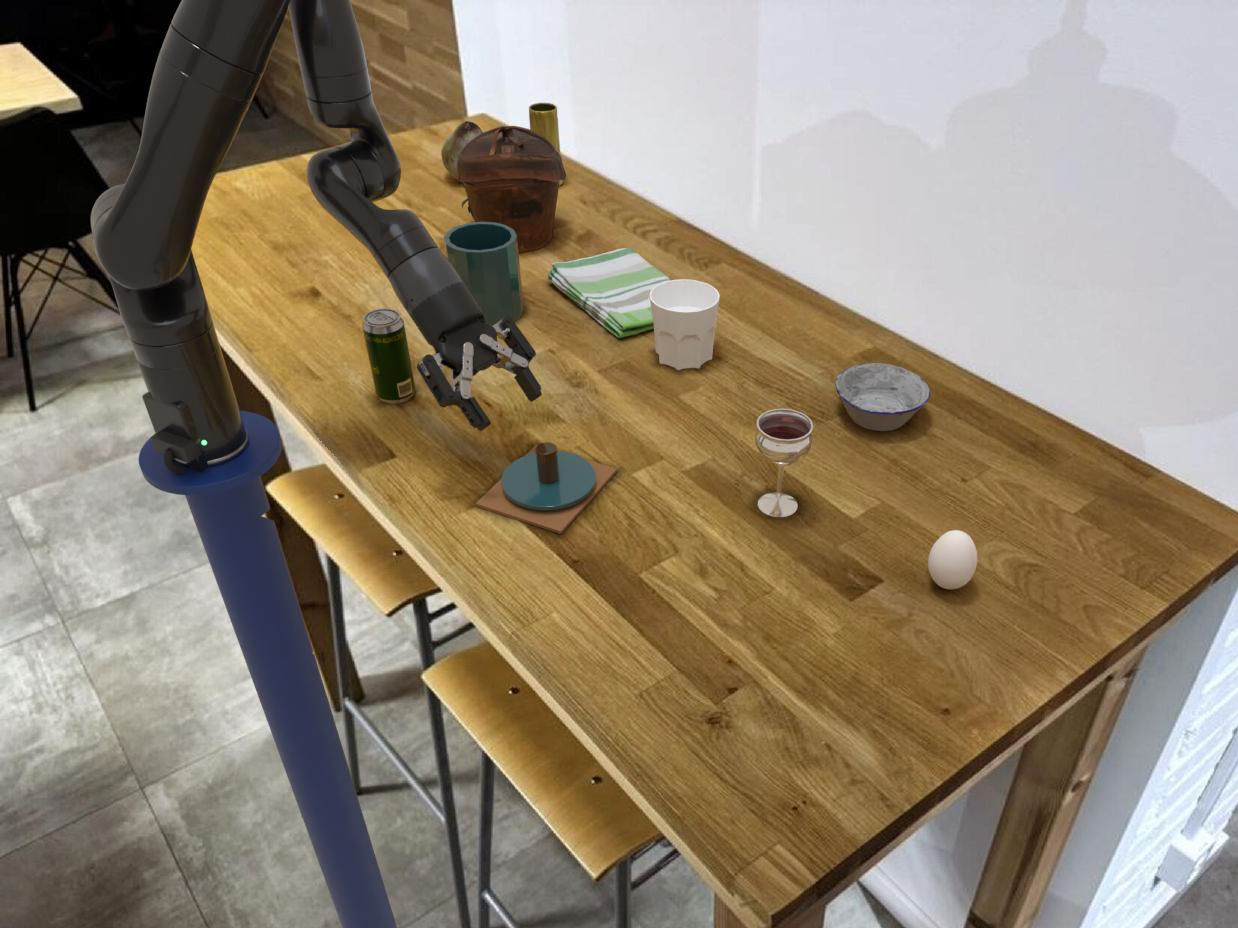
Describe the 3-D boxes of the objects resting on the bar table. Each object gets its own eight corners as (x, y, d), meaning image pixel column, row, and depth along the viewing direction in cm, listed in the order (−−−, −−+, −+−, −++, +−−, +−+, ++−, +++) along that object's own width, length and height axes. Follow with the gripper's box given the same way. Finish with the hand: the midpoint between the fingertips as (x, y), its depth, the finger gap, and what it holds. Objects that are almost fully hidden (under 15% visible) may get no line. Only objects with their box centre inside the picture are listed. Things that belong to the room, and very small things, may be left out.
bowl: (881, 453, 142) (885, 422, 139) (812, 411, 150) (816, 381, 147) (943, 419, 149) (949, 389, 146) (875, 380, 156) (879, 351, 153)
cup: (709, 336, 165) (711, 277, 158) (723, 370, 157) (726, 309, 151) (645, 341, 163) (644, 281, 156) (656, 376, 155) (656, 314, 149)
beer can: (424, 391, 150) (411, 314, 143) (397, 409, 147) (382, 331, 139) (395, 380, 152) (381, 303, 145) (368, 397, 149) (351, 320, 141)
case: (521, 206, 199) (512, 107, 188) (591, 240, 189) (586, 138, 178) (440, 233, 189) (425, 131, 178) (510, 271, 179) (499, 165, 168)
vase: (525, 182, 208) (519, 107, 199) (547, 173, 212) (542, 99, 203) (549, 190, 205) (543, 115, 196) (570, 181, 209) (566, 106, 200)
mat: (561, 534, 128) (560, 531, 127) (476, 506, 131) (475, 503, 131) (617, 471, 137) (617, 468, 137) (536, 447, 141) (536, 444, 141)
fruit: (462, 193, 203) (454, 129, 195) (433, 178, 208) (424, 115, 200) (506, 179, 209) (499, 116, 201) (476, 165, 214) (469, 103, 206)
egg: (931, 563, 126) (942, 513, 121) (975, 577, 124) (988, 526, 119) (917, 591, 122) (928, 540, 117) (963, 606, 120) (976, 555, 115)
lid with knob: (565, 524, 128) (563, 487, 124) (483, 498, 132) (478, 460, 128) (612, 473, 136) (611, 436, 133) (534, 449, 140) (530, 412, 136)
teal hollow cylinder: (499, 334, 163) (490, 257, 155) (440, 318, 166) (429, 242, 158) (536, 305, 171) (529, 230, 163) (479, 290, 174) (470, 216, 166)
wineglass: (753, 522, 130) (758, 441, 123) (748, 488, 136) (753, 408, 128) (808, 521, 131) (817, 440, 123) (801, 487, 136) (809, 408, 128)
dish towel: (633, 259, 184) (633, 239, 182) (711, 313, 170) (712, 293, 168) (545, 283, 176) (543, 263, 174) (619, 343, 162) (618, 322, 160)
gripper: (399, 304, 120) (481, 427, 122) (493, 262, 129) (567, 378, 131) (376, 331, 126) (454, 448, 128) (467, 289, 135) (538, 399, 137)
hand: (511, 412), depth 130 cm, fingers open, 8 cm apart
